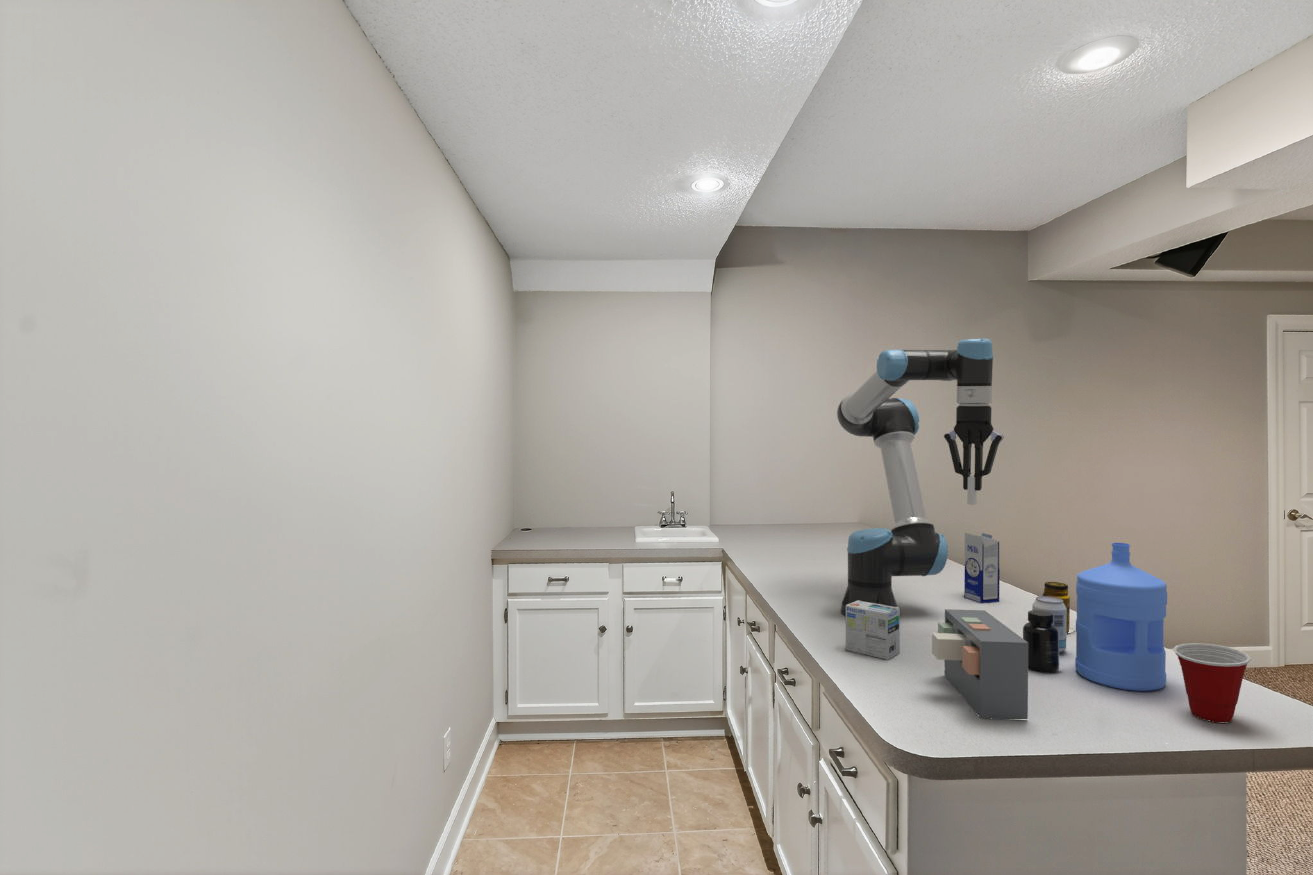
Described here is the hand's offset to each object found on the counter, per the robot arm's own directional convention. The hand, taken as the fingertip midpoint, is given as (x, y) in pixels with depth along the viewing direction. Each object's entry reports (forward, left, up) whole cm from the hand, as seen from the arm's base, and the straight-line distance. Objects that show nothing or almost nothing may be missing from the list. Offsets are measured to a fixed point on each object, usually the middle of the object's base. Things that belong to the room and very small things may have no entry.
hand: (972, 503), depth 162 cm
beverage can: (+16, +6, -34) cm, 38 cm away
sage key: (+3, -27, -26) cm, 38 cm away
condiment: (+15, +24, -34) cm, 44 cm away
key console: (+9, -32, -34) cm, 47 cm away
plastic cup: (+44, -18, -34) cm, 58 cm away
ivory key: (+4, -35, -26) cm, 44 cm away
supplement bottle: (+16, -8, -34) cm, 38 cm away
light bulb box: (-17, -19, -34) cm, 43 cm away
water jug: (+30, -5, -34) cm, 45 cm away
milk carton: (-6, +46, -34) cm, 58 cm away
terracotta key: (+10, -40, -26) cm, 49 cm away
